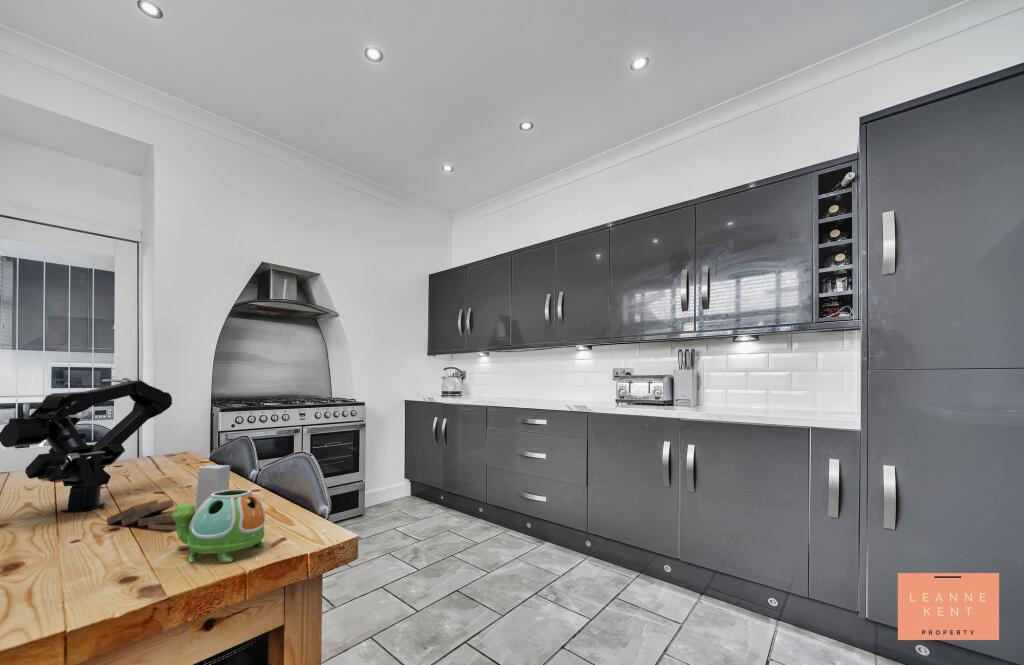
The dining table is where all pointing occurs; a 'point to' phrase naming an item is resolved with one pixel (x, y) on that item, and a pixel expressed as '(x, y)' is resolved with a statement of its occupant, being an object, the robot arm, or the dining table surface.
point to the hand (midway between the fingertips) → (95, 484)
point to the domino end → (164, 526)
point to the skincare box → (211, 481)
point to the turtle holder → (221, 524)
